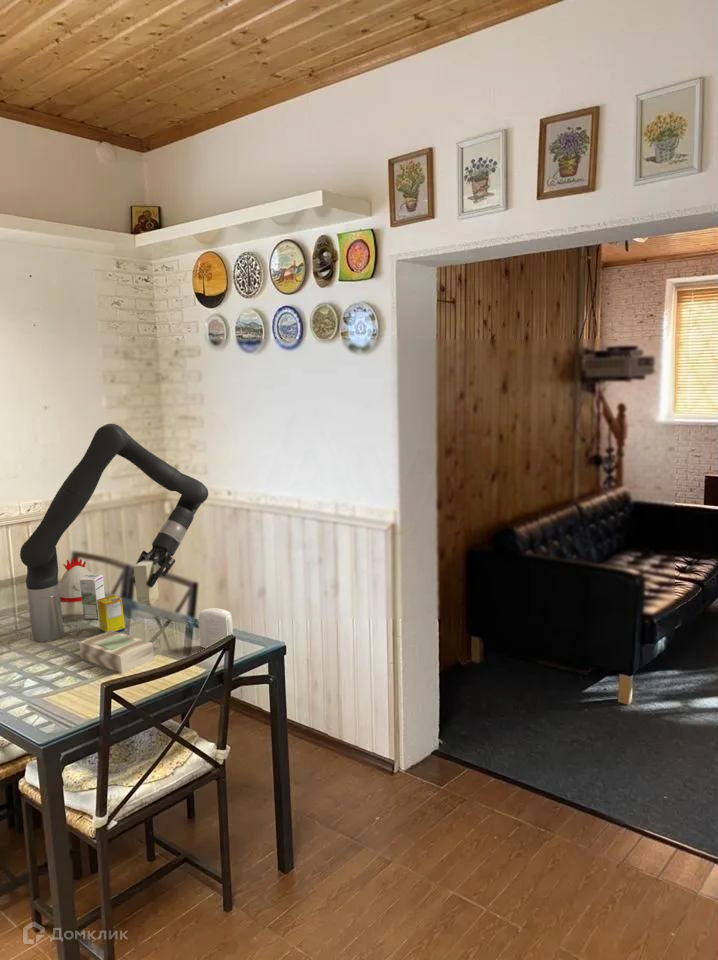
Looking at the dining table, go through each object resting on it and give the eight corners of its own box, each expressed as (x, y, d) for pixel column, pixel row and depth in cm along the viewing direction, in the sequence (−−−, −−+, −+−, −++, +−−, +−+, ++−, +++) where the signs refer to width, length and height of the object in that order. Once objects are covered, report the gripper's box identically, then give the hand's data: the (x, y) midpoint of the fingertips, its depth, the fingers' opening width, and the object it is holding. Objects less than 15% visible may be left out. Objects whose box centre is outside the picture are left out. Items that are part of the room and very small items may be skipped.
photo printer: (236, 646, 217) (233, 607, 215) (229, 652, 213) (226, 612, 211) (205, 643, 220) (202, 605, 218) (198, 649, 216) (195, 610, 214)
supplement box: (117, 626, 239) (113, 594, 237) (125, 630, 235) (122, 598, 233) (99, 631, 235) (96, 599, 233) (108, 635, 231) (104, 603, 229)
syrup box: (107, 613, 251) (103, 573, 249) (98, 620, 245) (94, 579, 243) (92, 613, 252) (88, 573, 250) (83, 619, 246) (78, 578, 244)
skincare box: (149, 604, 219) (146, 566, 217) (136, 604, 220) (132, 565, 218) (159, 597, 225) (156, 560, 223) (146, 597, 226) (142, 559, 224)
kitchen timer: (53, 596, 273) (48, 558, 270) (89, 587, 282) (85, 550, 280) (67, 604, 263) (63, 565, 260) (104, 595, 272) (100, 556, 269)
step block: (81, 658, 214) (79, 641, 213) (113, 645, 222) (111, 629, 221) (122, 673, 202) (120, 655, 201) (154, 659, 211) (152, 642, 210)
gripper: (147, 529, 229) (119, 574, 222) (177, 534, 220) (148, 582, 213) (162, 541, 234) (135, 586, 227) (192, 546, 225) (164, 594, 218)
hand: (142, 584), depth 220 cm, fingers closed on skincare box, 6 cm apart
